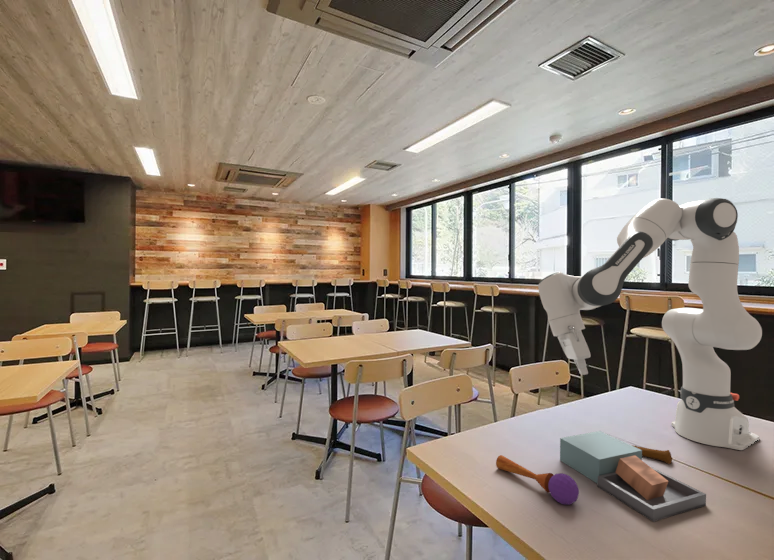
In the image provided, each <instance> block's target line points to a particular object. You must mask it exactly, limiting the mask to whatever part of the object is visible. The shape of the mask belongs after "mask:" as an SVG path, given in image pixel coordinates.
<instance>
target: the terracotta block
mask: <svg viewBox="0 0 774 560" xmlns="http://www.w3.org/2000/svg"><path fill="white" fill-rule="evenodd" d="M651 467H652V466H651V465H648V464H647V463H646V462H645V461H643V459H642V460H641V459H639V458H638V457H637V456H635V455H634V456H630V457H625V458H620V459H619V463H618V466H617V469H616V472H615V473H616V474H618V475H619V476H620V477H621V478H622V479H623V480H624V481H626V482H627V483H628V484H629V485H630V486H631V487H633V488H634V489H635V490H636V491H637V492H638V493H639V494H641V495H642V496H643V497H644V498H645V499H646V500H650V499H653V498H657V497H661V496H663V495H664V492H665V490H666V487H667V484H668V480H666V479H665V478H664V477H663V476H661V475H660V474H659V473H657V472H656V471H655V470H654V469H655V468H654V469H652V468H653V467H652V468H651Z"/></svg>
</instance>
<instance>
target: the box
mask: <svg viewBox="0 0 774 560" xmlns="http://www.w3.org/2000/svg"><path fill="white" fill-rule="evenodd" d="M650 467H651V468H652V469H654V470H655V471H656V472H657V473H659V474H660V475H661V476H663V477H664V478H665V479H666V480H668V484H667V487H666V490H665V492H664V495H663V496H661V497H657V498H653V499H650V500H646V499H645V498H644V497H643V496H642V495H641V494H639V493H638V492H637V491H636V490H635V489H634V488H633V487H631V486H630V485H629V484H628V483H627V482H626V481H624V480H623V479H622V478H621V477H620V476H619V475H618V474H616V473H615V472H613V473H609V474H604V475H600V476H598V484H597V488H599V489H601V490H602V491H603V492H606V493H607V494H608V495H610V496H612V497H613V498H615V499H617V500H618V501H620V502H621V503H622V504H624V505H626V506H627V507H629V508H631V509H632V510H634V511H635V512H638V513H639V514H640V515H642V516H643V517H645V518H646V519H648V520H650V521H651V522H657V521H661V520H665V519H667V518H670V517H673V516H674V517H675V516H676V515H680V514H682V513H687V512H689V511H692V510H696V509H699V508H702V507H706V506H707V493H705V492H703V491H701V490H699V489H697V488H694V487H692V486H690V485H688V483H687V484H686V483H685V482H682V481H680V480H678V479H677V478H674V477H673V476H670V475H669V474H666V473H665V472H662V471H661V470H659V469H656V468H654V467H652V466H650Z"/></svg>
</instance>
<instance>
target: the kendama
mask: <svg viewBox="0 0 774 560" xmlns="http://www.w3.org/2000/svg"><path fill="white" fill-rule="evenodd" d="M495 466H496V468H497V469H499V470H502V471H505V472H508V473H512V474H516V475H518V476H523V477H526V478H529V479H533V480H535V481H536V482H537V483H538V485H539V486H541V488H542V489H544V491H545V492H546V493H547V494H550V495H551V497H552V498H553V499H554V500H555V501H556V502H557V503H559V504H561V505H572V504H573V503H575V502H577V501H578V498H579V496H580V495H579V494H580V488H579V486H578V484H577V482H576V480H574V478H572V477H571V475H569V474H566V473H563V472H562V473H555V474H554V473H551V472H549V473H548V472H547V473H537V474H536V473H535V472H533V471H531V470H529V469H527V468H526V467H524V466H522V465H520V464H519V463H516V462H515V461H513V460H511V459H509V458H507V457H506V456H505V455H498V456H497V457H496V460H495Z"/></svg>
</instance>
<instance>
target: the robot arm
mask: <svg viewBox="0 0 774 560" xmlns="http://www.w3.org/2000/svg"><path fill="white" fill-rule="evenodd" d="M738 217H739V215H738V210H737V207H736V206H735V205H734V203H733V202H732V201H731V200H729V199H727V198H721V197H720V198H719V197H714V198H713V197H712V198H711V197H709V198H708V199H707V198H706V199H703V200H695V201H691V202H686V203H684V204H681V205H679V204H678V203H677V202H676V201H674V200H672V199H669V198H657V199H654V200H652V201H651V202H649V203H648V204H647V205H645V206H644V207H642V208H641V209H640V210H639V211H638V212H636V213H635V214H634V215H633V216H632V217H631V218H630V219H629V220H628V222H627V223H626V224H625V225H624V226H623V227H622V229H621V230H620V232H619V234H618V235H617V237H616V242H617V245H618V248H617V250H615V251H614V253H613V254H612V255H611V256H610V257H609V258H608V259H606V261H605V263H603V264H601V265H600V266H597V267H595V268H592V269H590V270H588V271H587V272H585V274H584V275H582V276H574V275H569V274H565V273H563V272H561V271H558V272H557V271H556V272H553V273H552V274H549V275H547V276H545V277H543V278H542V279H541V280H540V281H539V283H538V286H537V287H538V289H537V290H538V294H539V298H540V300H541V304H542V306H543V309H544V310H545V312H546V315H547V320H548V325H549V326H550V330H551V333H552V335H553V337H555V338H556V337H557V339H558V341H559V344H560V347H561V348H562V351H563V353H564V354H565V356H566V358H567V359H569V360H573V361H574V364H575V366H576V367H577V370H578V371H579V374H580V375H581V376H585V375H586V376H587V375H588V374H589V371H588V368H587V363H586V362H587V361H586V359H589V358H591V352H590V348H589V346H588V343H587V342H586V339H585V337H584V334H583V332H582V330H585V329H586V327H585V324H584V321H583V318H582V315H581V313H580V311H590V310H595V309H596V308H600V307H602V306H603V307H604V306H607V305H610V304H612V303H614V302H615V301H616V300H618V299H619V297H620V295H621V293H622V290H623V285H624V283H625V280H627V279H626V278H627V277H628V276H629V274H630V273H631V272H632V271H633V270H634V268H635V267H636V266H637V265H638V264H639V263H640V261H642V260H643V259H644V258H647V257H648V256H650V255H651V254H652V253H654V252H655V251H656V250H658V248H660V247H661V246H662V245H663V244H664V243H665V241H674V242H675V241H681V240H682V241H684V240H685V241H687V240H689V241H690V242H691V244H692V253H691V257H690V266H689V275H688V288H689V290H690V291H691V293H693V294H695V295H697V296H698V297H699V298H700V301H701V303H702V308H696V307H678V308H671V309H668V310H667V311H666V312H665V313H664V315H663V317H662V320H661V328H662V330H663V332H664V333H665V335H667V336H668V337H669V338H670V339H671V340H672V342H673V343H674V345H675V346H676V349H677V351H678V353H679V356H680V359H681V364H682V365H681V366H682V386H681V387H680V391H679V392H680V399H681V400H679V401H678V402H677V404H676V410H675V417H674V418H675V419H674V421H671V423H670V425H671V426H672V427H673V428H674V431H675V432H676V434H678V435H679V436H681V437H682V438H685V439H688V440H691V441H692V442H697V443H699V444H700V443H701V444H703V445H706V446H711V447H712V446H713V447H720V448H721V447H722V448H728V449H733V450H736V451H737V450H739V451H744V450H746V449H747V448H749V447H750V446H751V444H752V445H754V444H755V443H756V442H755V441H757V440H758V441H760V440H759V439H761V438H760V436H759V435H758V434H756V433H754V432H752V431H750V428H749V426H750V424H749V422H750V421H749V419H748V417H747V416H746V415H744V414H743V412H741V411H740V410H738V409H737V408H736V407H735V401H739V399H740V395H739V394H738V393H733V392H731V375H732V374H731V368H730V367H729V365H728V363H727V362H725V361H723V360H722V359H721V358H720V357H719V356H718V354H717V353H716V352H715V349H714V348H716V349H717V348H719V349H722V350H733V351H747V350H751V349H754V348H755V347H756V346H757V345H758V344H759V343H760V341H761V340H762V336H763V328H762V326H761V324H760V323H759V321H758V320H757V319H756V318H755V317H753V316H752V315H751V314H750V313H749V312H748V311H747V310H746V308H745V307H744V306H743V304H742V302H741V300H740V296H739V293H738V273H739V264H740V262H739V261H740V247H739V240H738V235H737V233H736V232H735V229H736V226H737V223H738ZM758 441H757V442H758ZM754 442H755V443H754ZM748 446H749V447H748Z"/></svg>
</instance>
